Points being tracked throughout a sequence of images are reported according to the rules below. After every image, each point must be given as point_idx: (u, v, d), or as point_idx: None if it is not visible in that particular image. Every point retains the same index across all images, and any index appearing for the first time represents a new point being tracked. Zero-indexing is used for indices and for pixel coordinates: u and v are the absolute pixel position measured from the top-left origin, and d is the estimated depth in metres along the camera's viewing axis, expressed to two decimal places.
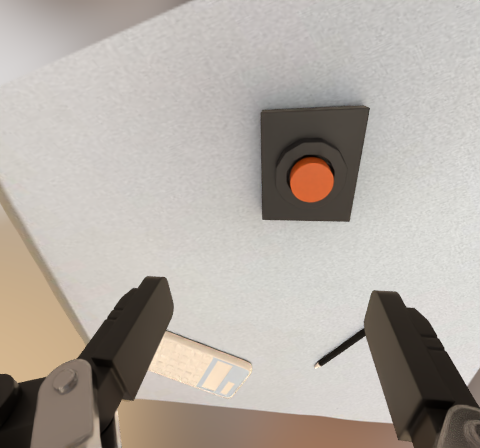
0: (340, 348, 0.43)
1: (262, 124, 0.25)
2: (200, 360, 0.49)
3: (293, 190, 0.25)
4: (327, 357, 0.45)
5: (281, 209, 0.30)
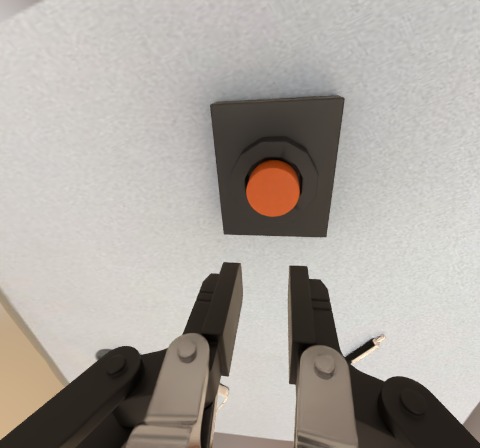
0: None
1: (213, 119, 0.20)
2: None
3: (250, 201, 0.20)
4: None
5: (244, 222, 0.25)
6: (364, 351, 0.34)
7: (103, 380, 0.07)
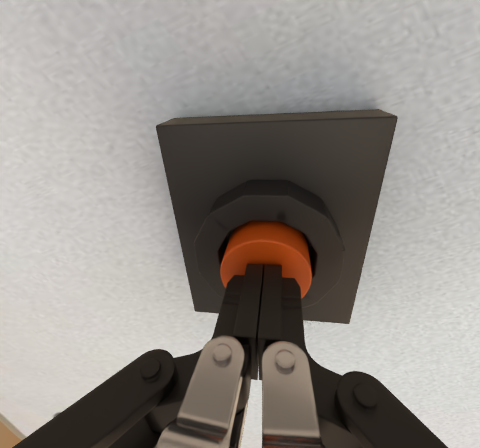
0: None
1: (163, 150, 0.12)
2: None
3: None
4: None
5: None
6: None
7: (137, 383, 0.06)
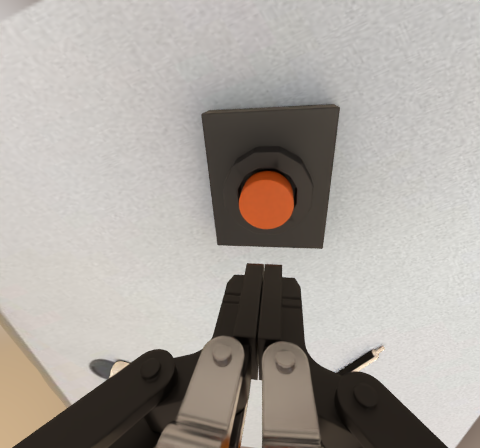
0: None
1: (205, 128, 0.20)
2: None
3: (242, 213, 0.19)
4: None
5: (238, 233, 0.24)
6: (362, 362, 0.33)
7: (137, 383, 0.06)
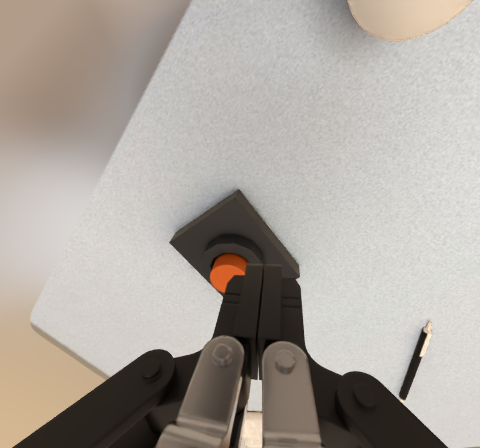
0: (408, 376, 0.37)
1: (176, 248, 0.30)
2: None
3: (220, 290, 0.27)
4: (403, 389, 0.39)
5: None
6: (422, 342, 0.33)
7: (137, 383, 0.06)
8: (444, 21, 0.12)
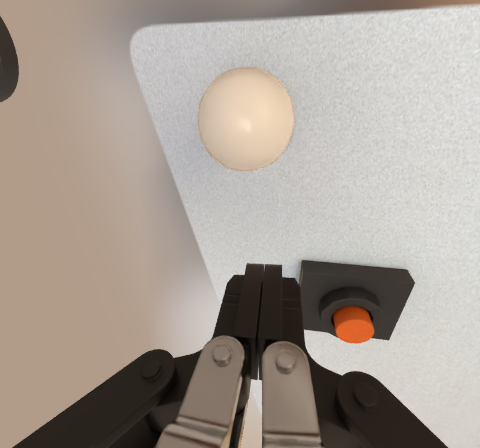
0: None
1: None
2: None
3: (357, 342, 0.29)
4: None
5: (381, 327, 0.32)
6: None
7: (137, 384, 0.06)
8: (289, 135, 0.16)
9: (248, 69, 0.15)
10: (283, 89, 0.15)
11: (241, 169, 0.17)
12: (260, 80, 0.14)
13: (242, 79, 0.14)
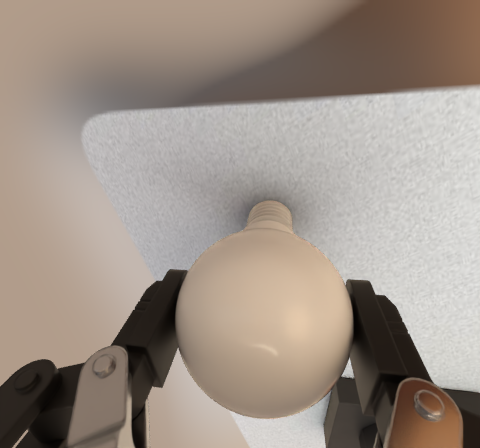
0: None
1: None
2: None
3: None
4: None
5: None
6: None
7: (14, 399, 0.06)
8: None
9: (267, 264, 0.07)
10: (337, 293, 0.08)
11: None
12: (296, 301, 0.07)
13: (257, 303, 0.07)
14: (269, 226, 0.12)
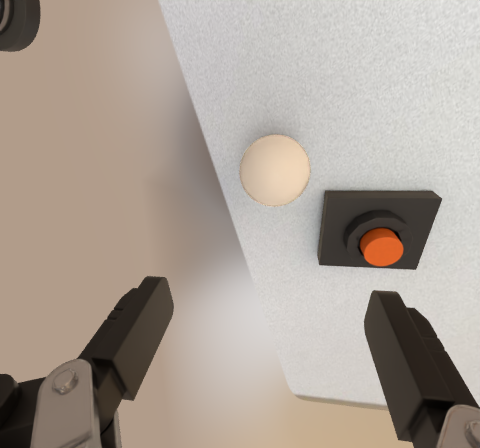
0: None
1: (327, 264, 0.34)
2: None
3: (386, 264, 0.29)
4: None
5: (408, 255, 0.32)
6: None
7: None
8: (307, 181, 0.22)
9: (277, 139, 0.21)
10: (302, 151, 0.21)
11: (273, 206, 0.23)
12: (287, 148, 0.20)
13: (274, 148, 0.20)
14: None
